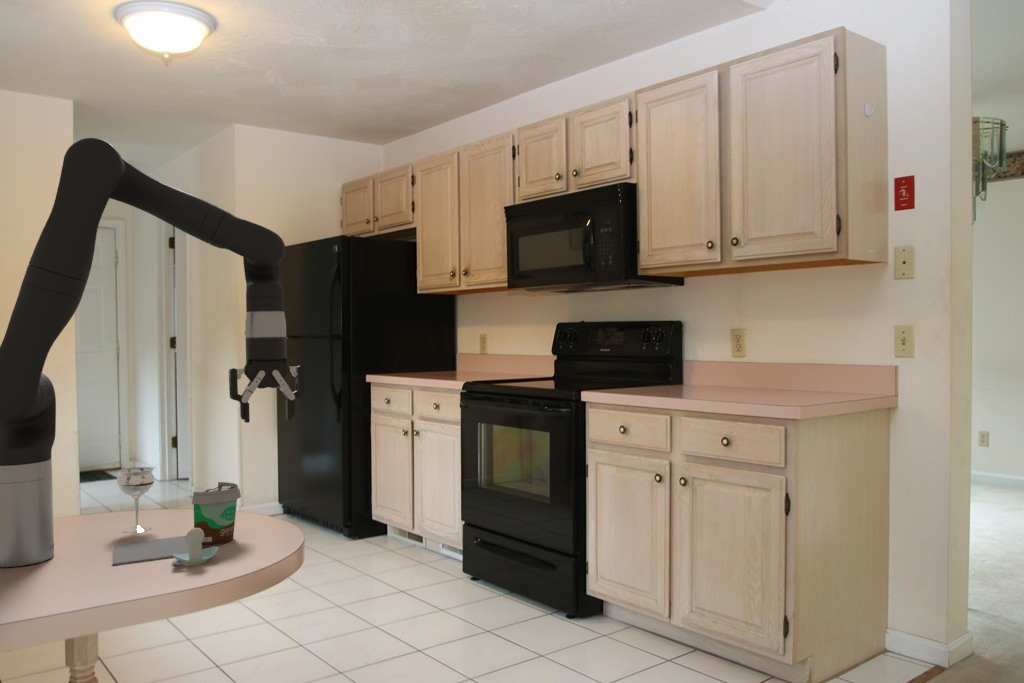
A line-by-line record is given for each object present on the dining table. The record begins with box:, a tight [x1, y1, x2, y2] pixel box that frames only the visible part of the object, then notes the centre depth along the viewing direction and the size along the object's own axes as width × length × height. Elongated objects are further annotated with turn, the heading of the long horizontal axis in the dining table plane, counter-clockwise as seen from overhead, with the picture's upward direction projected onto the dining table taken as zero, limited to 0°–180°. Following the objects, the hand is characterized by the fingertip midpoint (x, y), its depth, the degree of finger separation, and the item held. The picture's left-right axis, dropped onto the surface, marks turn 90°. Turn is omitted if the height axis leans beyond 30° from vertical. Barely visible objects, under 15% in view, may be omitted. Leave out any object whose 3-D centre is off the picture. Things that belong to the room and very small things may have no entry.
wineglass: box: [116, 466, 155, 534], centre depth 156 cm, size 7×7×12 cm
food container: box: [191, 481, 242, 547], centre depth 145 cm, size 12×6×10 cm, turn 179°
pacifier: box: [171, 527, 219, 567], centre depth 131 cm, size 7×6×6 cm
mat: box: [112, 535, 189, 566], centre depth 140 cm, size 14×14×1 cm
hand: (268, 420), depth 149 cm, fingers open, 7 cm apart
